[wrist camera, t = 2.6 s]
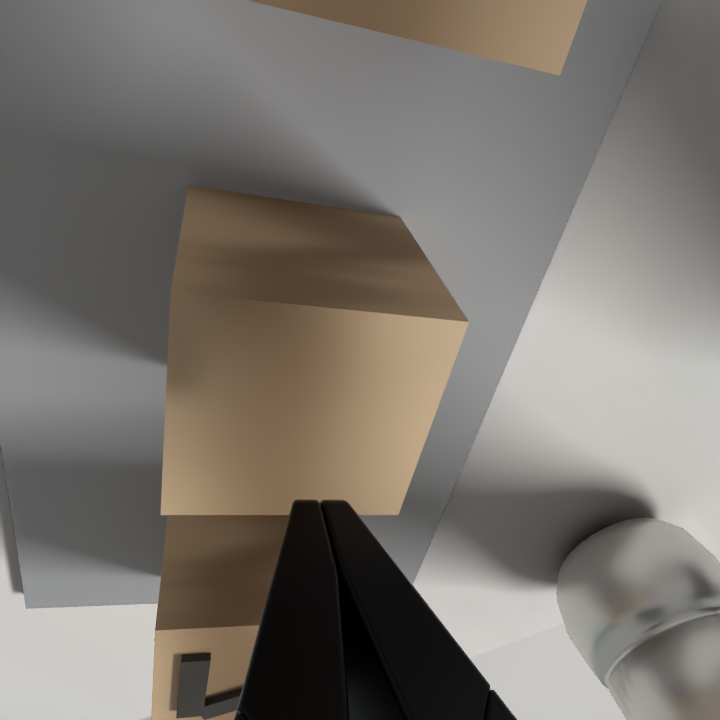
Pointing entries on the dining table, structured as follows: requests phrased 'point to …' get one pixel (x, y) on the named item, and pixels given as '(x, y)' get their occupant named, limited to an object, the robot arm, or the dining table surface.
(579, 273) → the dining table surface
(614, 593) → the plastic bottle
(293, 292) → the plain oak block
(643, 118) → the dining table surface
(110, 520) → the grey rubber mat
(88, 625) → the dining table surface
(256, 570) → the oak block marked 7
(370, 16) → the oak block marked 1
